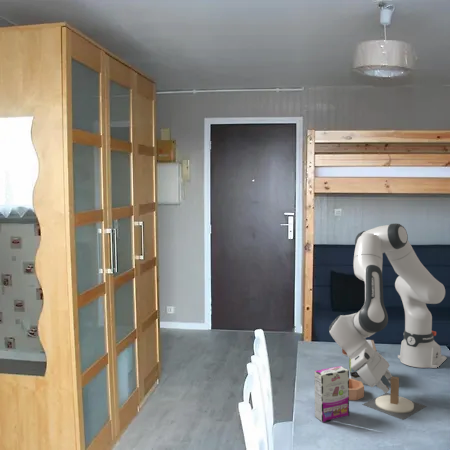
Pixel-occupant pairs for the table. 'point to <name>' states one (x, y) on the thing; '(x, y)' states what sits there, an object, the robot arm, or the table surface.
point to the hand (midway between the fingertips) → (390, 386)
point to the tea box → (354, 373)
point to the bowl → (355, 389)
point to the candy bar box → (331, 393)
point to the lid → (394, 400)
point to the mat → (399, 415)
